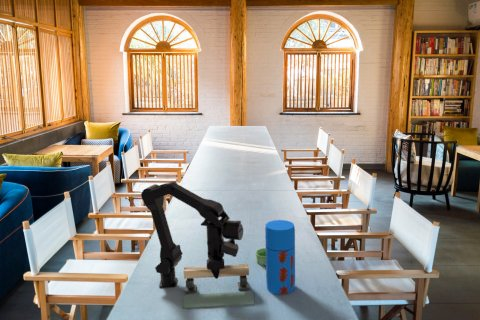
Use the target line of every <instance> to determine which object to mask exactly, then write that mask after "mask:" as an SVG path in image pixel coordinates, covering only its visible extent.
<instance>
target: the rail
mask: <svg viewBox="0 0 480 320" xmlns="http://www.w3.org/2000/svg"><path fill="white" fill-rule="evenodd" d="M242 264H243V265H239V264H229V265H225V264H224V269H220V271H219V276H218V278H220V277H240V276H245V275H246V276H250V271H249V269H250V268H249V267H250V266H249V264H248V263H246V264H245V263H242ZM187 278H194V279H200V278H201V279H202V278H206V279H207V278H215V277H214V275H213V274H212V272H211V270H208V269H207V265H206V266H186V267H183V279H186V280H187Z"/></svg>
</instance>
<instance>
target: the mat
mask: <svg viewBox="0 0 480 320" xmlns="http://www.w3.org/2000/svg"><path fill="white" fill-rule="evenodd" d="M254 305H255V300H254V295H253V291H251V290H250V291H249V290H247V291H233V292H232V291H229V292H214V293H213V292H212V293H198V294H197V293H191V294H184V296H183V304H182V309H183V310H185V309H186V310H187V309H200V308H202V309H203V308H205V307H206V308H221V307H236V306H237V307H238V306H240V307H241V306H242V307H243V306H254Z"/></svg>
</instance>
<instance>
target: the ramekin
mask: <svg viewBox="0 0 480 320" xmlns="http://www.w3.org/2000/svg"><path fill="white" fill-rule="evenodd" d="M255 257H256V262H257V264H258V265H260V266H265V267H266V247H264V248H259V249H257V250H256V251H255Z"/></svg>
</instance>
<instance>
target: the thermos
mask: <svg viewBox="0 0 480 320" xmlns="http://www.w3.org/2000/svg"><path fill="white" fill-rule="evenodd" d="M264 230H265V231H264V233H265V248H266V266H265V277H266V278H265V279H266V289H267V291H268V292H270V293H271V294H275V295H288V294H291V293H293V292H294V291H295V288H296V229H295V224H294V222H292V221H289V220H284V219H276V220H270V221H267V223H266V224H265V228H264Z"/></svg>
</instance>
